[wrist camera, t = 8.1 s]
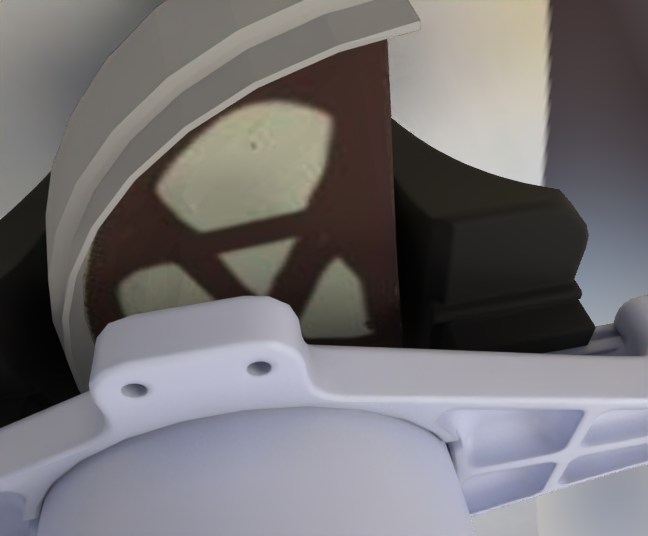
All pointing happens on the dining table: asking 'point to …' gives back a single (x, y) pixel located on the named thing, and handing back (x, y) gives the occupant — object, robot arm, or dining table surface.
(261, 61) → the food container
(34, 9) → the dining table surface
